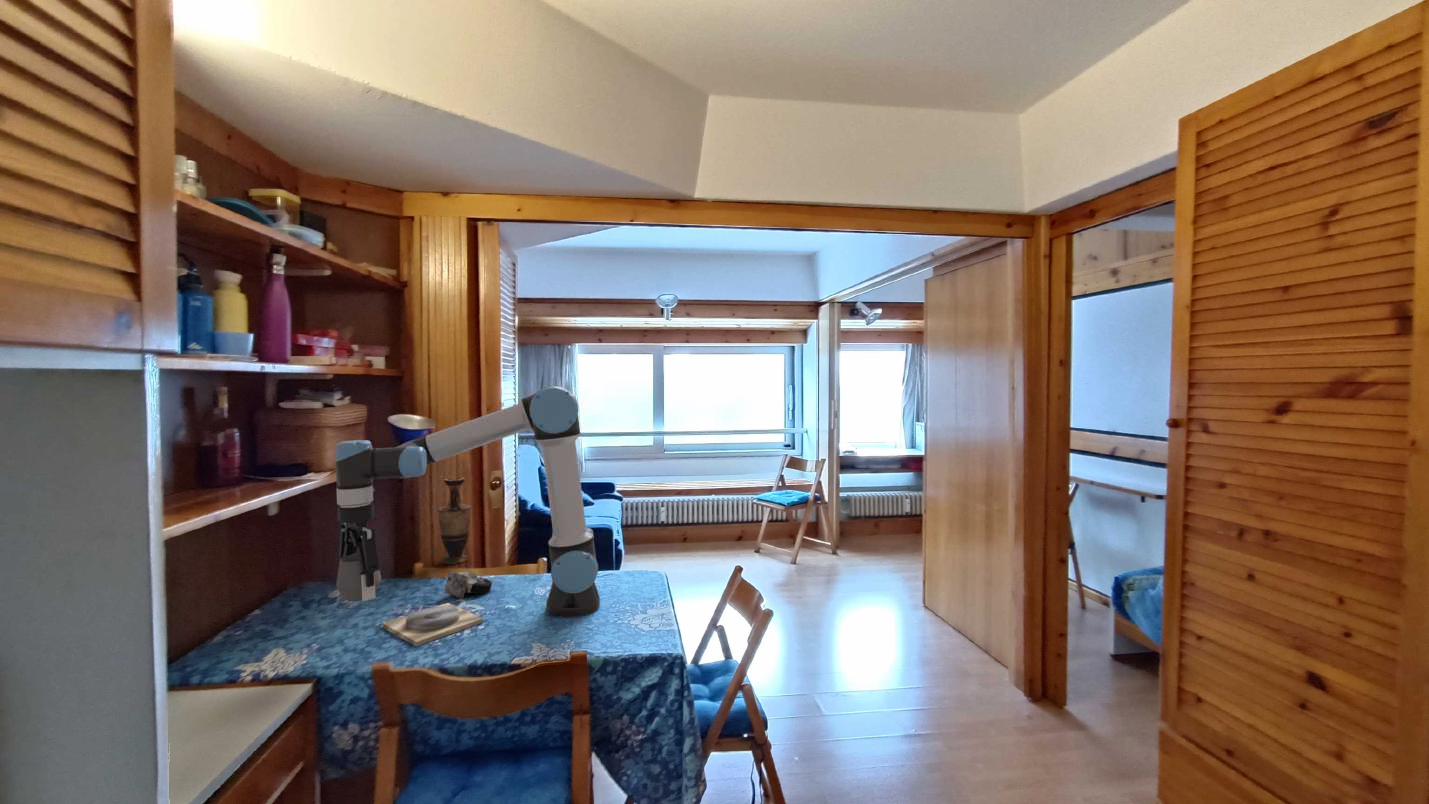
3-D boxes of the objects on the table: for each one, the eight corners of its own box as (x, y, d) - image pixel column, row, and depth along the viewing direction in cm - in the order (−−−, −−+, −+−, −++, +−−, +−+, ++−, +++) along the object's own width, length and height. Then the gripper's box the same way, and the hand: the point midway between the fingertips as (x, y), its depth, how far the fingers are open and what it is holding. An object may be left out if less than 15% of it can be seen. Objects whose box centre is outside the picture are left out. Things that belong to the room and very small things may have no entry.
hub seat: (482, 622, 161) (482, 613, 161) (416, 646, 147) (415, 636, 147) (447, 606, 172) (447, 597, 172) (382, 627, 158) (382, 617, 158)
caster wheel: (493, 596, 187) (475, 603, 178) (462, 586, 190) (442, 592, 180) (499, 575, 188) (481, 581, 178) (467, 565, 190) (448, 571, 180)
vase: (442, 557, 219) (440, 476, 218) (473, 555, 222) (472, 475, 220) (436, 566, 208) (434, 481, 207) (469, 564, 211) (467, 480, 210)
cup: (333, 607, 139) (331, 565, 139) (340, 594, 148) (338, 554, 147) (379, 600, 143) (377, 559, 143) (383, 588, 152) (382, 549, 151)
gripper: (393, 507, 141) (396, 599, 142) (353, 496, 154) (356, 581, 155) (358, 513, 135) (363, 610, 136) (320, 501, 148) (324, 589, 149)
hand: (359, 594), depth 146 cm, fingers closed on cup, 9 cm apart
